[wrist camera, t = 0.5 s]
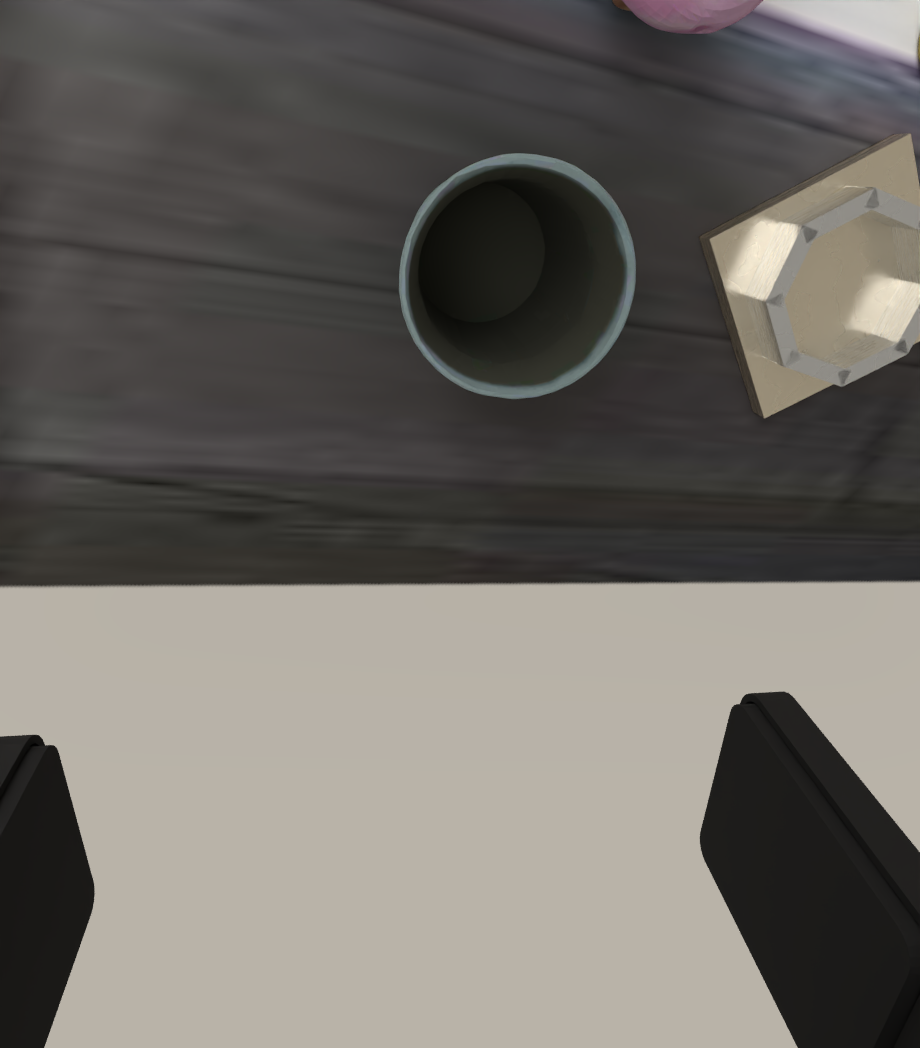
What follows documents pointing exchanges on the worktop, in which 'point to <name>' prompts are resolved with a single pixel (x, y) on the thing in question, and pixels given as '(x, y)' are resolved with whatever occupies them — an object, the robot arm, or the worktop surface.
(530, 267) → the blue-green cup
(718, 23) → the cupcake
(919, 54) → the vase
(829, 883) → the robot arm
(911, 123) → the worktop surface
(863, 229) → the ring stand
